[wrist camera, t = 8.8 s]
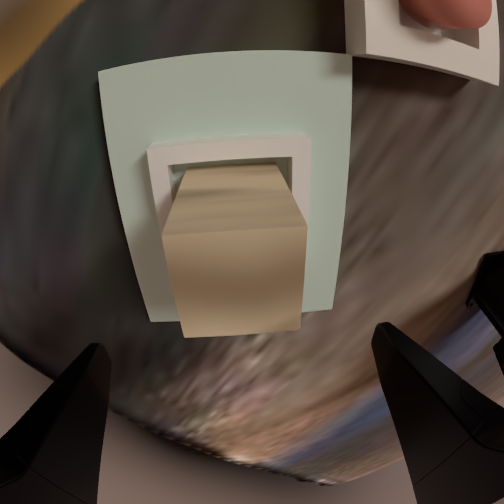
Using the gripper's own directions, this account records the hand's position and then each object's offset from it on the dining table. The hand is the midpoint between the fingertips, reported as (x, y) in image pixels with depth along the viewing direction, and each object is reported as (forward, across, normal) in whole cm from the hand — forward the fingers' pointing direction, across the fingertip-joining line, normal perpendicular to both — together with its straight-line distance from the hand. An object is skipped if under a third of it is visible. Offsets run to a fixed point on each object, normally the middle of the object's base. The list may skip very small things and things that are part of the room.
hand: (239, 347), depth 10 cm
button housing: (+12, -12, -14) cm, 22 cm away
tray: (+12, 0, 0) cm, 12 cm away
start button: (+10, -12, -14) cm, 21 cm away
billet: (+11, 0, 0) cm, 11 cm away
